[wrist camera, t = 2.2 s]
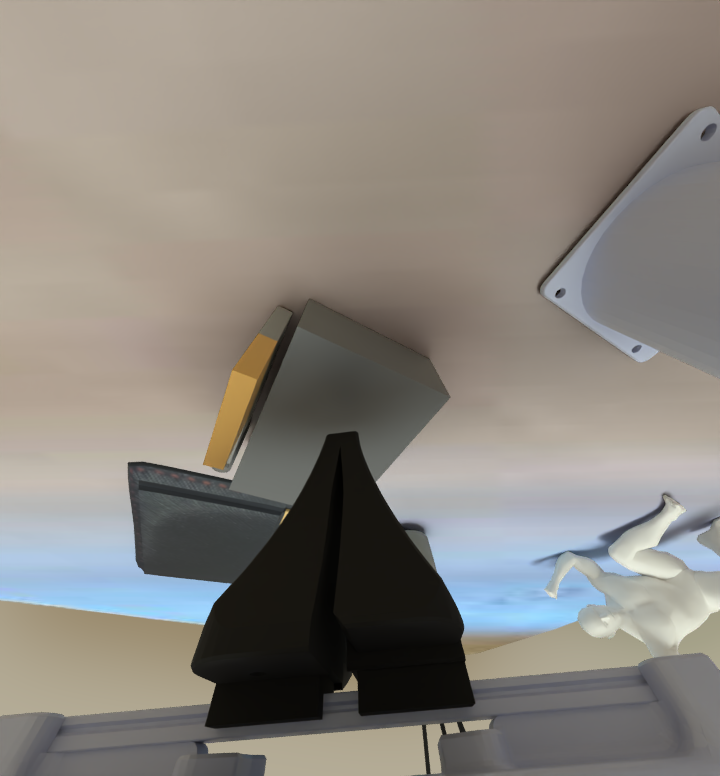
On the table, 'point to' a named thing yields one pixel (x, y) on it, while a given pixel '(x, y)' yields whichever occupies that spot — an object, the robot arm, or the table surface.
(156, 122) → the table surface
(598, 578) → the person figurine
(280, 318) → the side hatch
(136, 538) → the wallet
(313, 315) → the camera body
